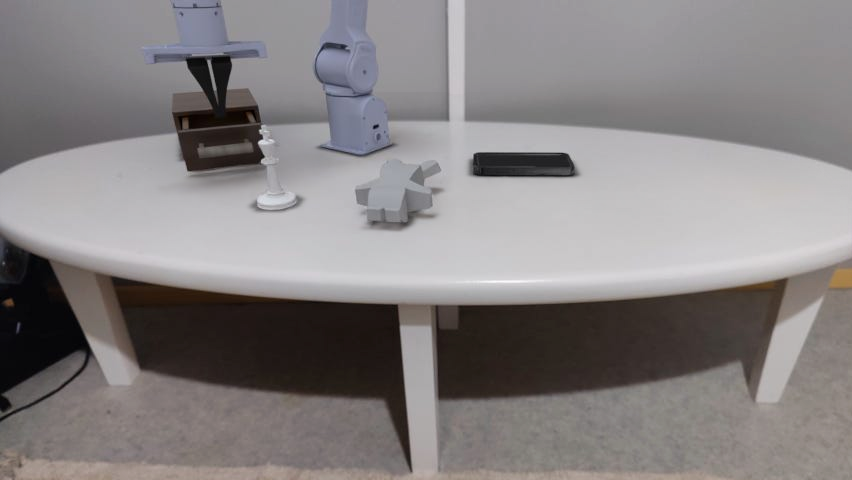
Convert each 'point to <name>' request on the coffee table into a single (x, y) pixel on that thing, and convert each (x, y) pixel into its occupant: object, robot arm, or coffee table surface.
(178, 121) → the cabinet
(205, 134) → the drawer
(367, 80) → the robot arm
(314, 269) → the coffee table surface
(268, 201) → the chess piece
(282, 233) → the coffee table surface
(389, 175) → the grey figure-shaped block
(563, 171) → the phone
